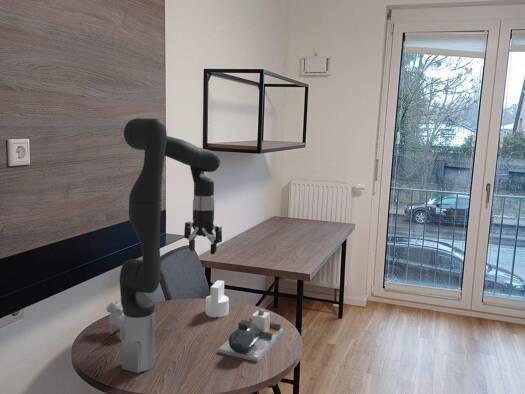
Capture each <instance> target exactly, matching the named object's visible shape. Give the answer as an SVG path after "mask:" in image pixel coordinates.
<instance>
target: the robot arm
mask: <svg viewBox="0 0 525 394" xmlns="http://www.w3.org/2000/svg"><path fill="white" fill-rule="evenodd" d="M123 139H124V141H125V143H126V144H127V145H128V146H129V147H131V148H132V149H135V150H139V151H144V156H143V157H144V158H143V159H144V160H143V166H142V169H141V171H140V173H139V176H138V177H137V179H136V181H135V182H134V184H133V186H132V187H131V191H130V193H129V196H128V200H129V201H128V219H129V222H130V225H131V227H132V229H133V230H134V232H135V234H136V236H137V238H138V241H139V243H140V246H141V252H142V259H136V258H129V259H127V260H126V261H124V263H123V264H122V265H121V267H120V272H119V291H120V305H121V308H122V312H123V314H124V337H123V339H122V340H121V370H125V371H128V372H132V373H133V374H134V373H135V374H140V373H141V372H147V371H149V370H151V369H152V368H154V366H155V365H156V362H155V361H156V357H155V356H156V355H155V353H156V350H155V348H156V346H155V345H156V344H155V341H156V334H155V333H156V329H155V328H156V324H155V323H156V322H155V321H156V318H155V317H156V313H155V312H156V311H155V310H156V309H155V308H156V305H155V302H154V300H153V299H151V298H150V297H149V296H147V295H146V294H152V293H154V292H155V291H156V290H157V289H158V287H159V285H160V282H161V277H162V276H161V274H162V270H161V266H162V263H161V249H160V248H161V244H160V239H161V238H160V237H161V236H160V235H161V234H160V232H161V229H160V228H161V227H160V226H161V216H162V215H161V214H162V213H161V211H162V186H163V173H164V172H163V169H164V163H165V157H167V158H170V159H171V160H174V161H175V162H176V161H177V162H178V163H181V164H183V165H186V166H189V168H190V169H189V170H190V173H191V177H192V180H193V199H192V221H186V222H184V234H183V238H184V239H186V240H188V249H189V251H190V252H193V251H195V250H196V249H195V248H196V240H195V239H197V236H198V237H203V238H205V237H206V238H207V240H209V242H210V255H215V254H216V252H217V249H218V248H217V247H218V246H217V245H218V244H219V243H222V242H223V233H222V232H223V231H222V229H223V227H222V225H215V224H214V221H215V196H214V195H215V182H214V180H213V179H212V178H210V177H207V176H206V174H205V172H206V173H214V172H216V171H217V170H218V168H219V167H220V164H221V161H220V157H219V155H218V154H217V153H216V152H214V151H213V150H209V149H206V148H202V147H198V146H196V145H194V144H192V143H190V142H189V141H186V140H184V139H181V138H176V137H173V136H169V135H168V131H167V127H166V125H165V123H164V122H163V120H161V119H159V118H144V117H143V118H142V117H139V118H132V119H131V120H129V121H128V122H127V123H126V124H125V125H124V129H123ZM192 228H193V231H192ZM145 293H146V294H145Z"/></svg>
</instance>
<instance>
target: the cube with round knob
mask: <svg viewBox="0 0 525 394" xmlns="http://www.w3.org/2000/svg"><path fill="white" fill-rule="evenodd" d="M251 318H252V323H253V324H255V325H256V326H257V328H258V330H262V331H268V330H269V329H270V322H271V312H267V311H265V309H263V308H259V309H258V310H256V311H255V312H254V313H253V314H252V315H251Z"/></svg>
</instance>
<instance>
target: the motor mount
mask: <svg viewBox="0 0 525 394" xmlns="http://www.w3.org/2000/svg"><path fill="white" fill-rule="evenodd" d="M237 324H238V328H236V329H235V330H234V331H233V332H232V333H231V334H230V335H229V337H228V339H227V340H226V341H225V342H224V343H223V344H222V345H220V346H219V348H218V354H223V355H227V356H232V357H236V358H240V359H245V360H247V361H252V362H256V363H258V362H259V361H260V360H261V359H262V358H263V357H264V355H266V353H267V352H268V351H269V350H270V349H271V348H272V347H273V346H274V344H275V343H276V342H277V341H278V340H279V339H278V338H280V337H281V336H283V334H284V331H285V330H284V328H282V324H281V323H277V322H273V321H270V329H269V330H268V331H262V330H258V328H257V326H256V325H255V324H253V323H252V317H250V318H249V321H248V320H246V319H245V320H244V319H242V320H241V321H239V322H238V323H237Z"/></svg>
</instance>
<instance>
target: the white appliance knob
mask: <svg viewBox="0 0 525 394" xmlns="http://www.w3.org/2000/svg"><path fill="white" fill-rule="evenodd" d="M229 302H230V298H229V297H228V296H227V295H225V280H220V279H219V280H216V281H215V282H214V283H213V284H212V285H211V286H210V295H208V296H206V297H205V315H206V316H208V317H210V318H216V317H218V318H224V317H226V315H227V316H228V315H229V311H230V309H229V306H230V304H229ZM223 316H224V317H223Z"/></svg>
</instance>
